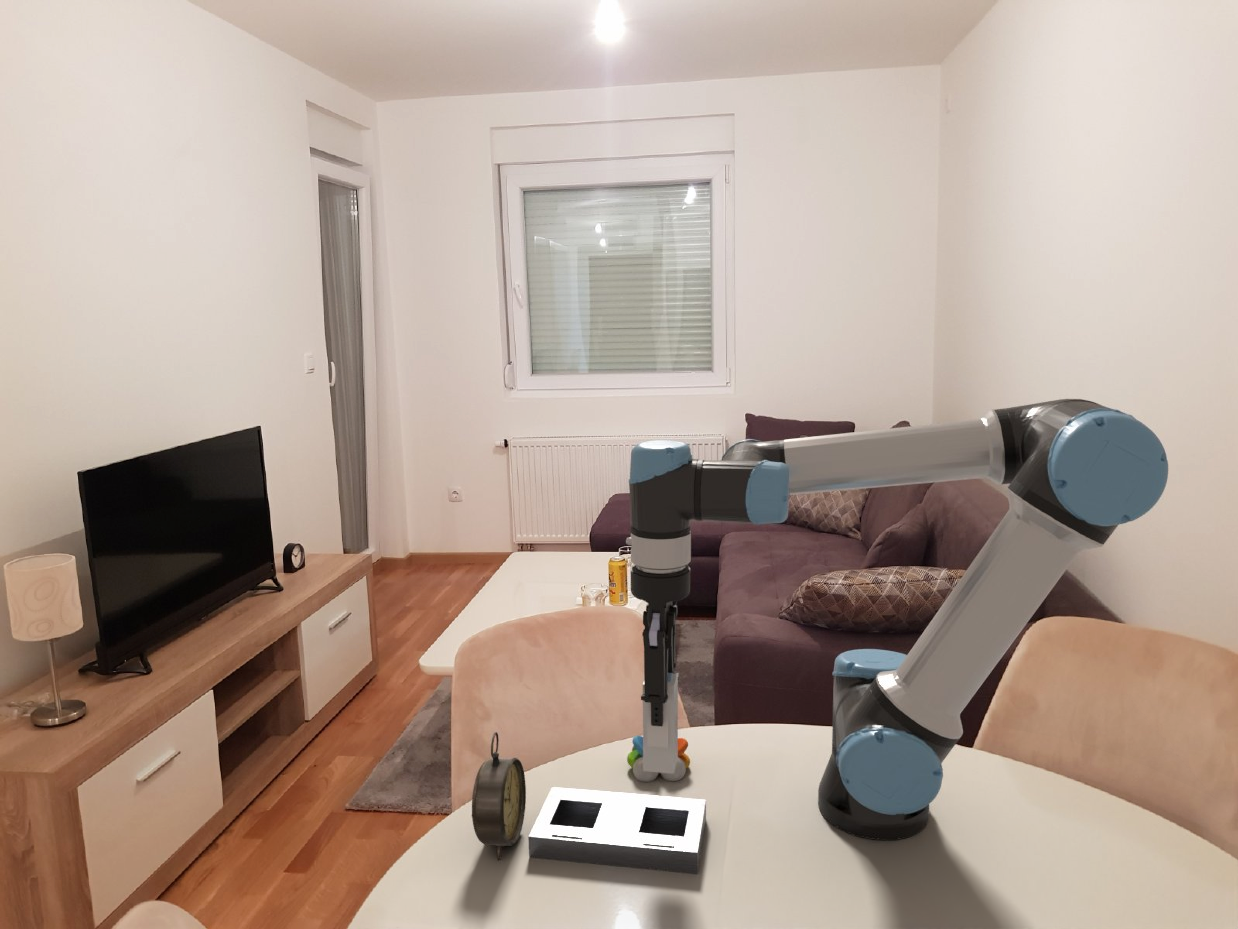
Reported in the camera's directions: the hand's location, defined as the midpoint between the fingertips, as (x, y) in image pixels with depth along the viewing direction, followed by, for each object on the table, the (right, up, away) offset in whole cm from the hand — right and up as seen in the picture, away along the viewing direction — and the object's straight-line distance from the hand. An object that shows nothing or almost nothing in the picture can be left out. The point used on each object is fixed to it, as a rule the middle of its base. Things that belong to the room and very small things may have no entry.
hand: (660, 736), depth 115 cm
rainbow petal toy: (+1, -12, +22) cm, 25 cm away
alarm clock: (-22, -16, +4) cm, 27 cm away
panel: (-5, -15, +4) cm, 17 cm away
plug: (0, -4, +1) cm, 4 cm away
